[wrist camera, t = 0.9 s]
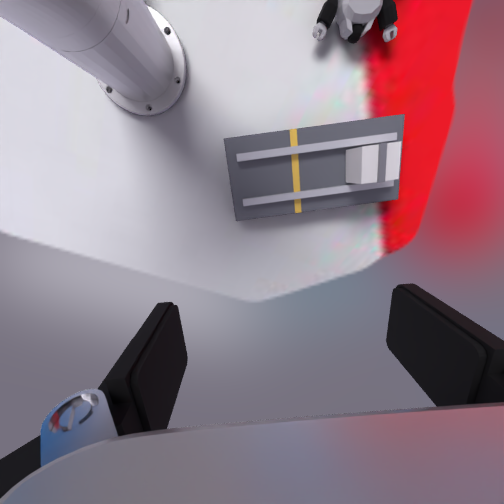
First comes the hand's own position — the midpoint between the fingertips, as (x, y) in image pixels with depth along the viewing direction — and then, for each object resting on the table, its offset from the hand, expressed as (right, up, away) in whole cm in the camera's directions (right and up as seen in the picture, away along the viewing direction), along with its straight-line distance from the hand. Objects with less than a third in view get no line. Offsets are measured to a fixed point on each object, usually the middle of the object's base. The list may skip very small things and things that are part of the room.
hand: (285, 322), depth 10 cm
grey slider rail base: (+8, +16, +28) cm, 33 cm away
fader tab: (+15, +16, +25) cm, 33 cm away
